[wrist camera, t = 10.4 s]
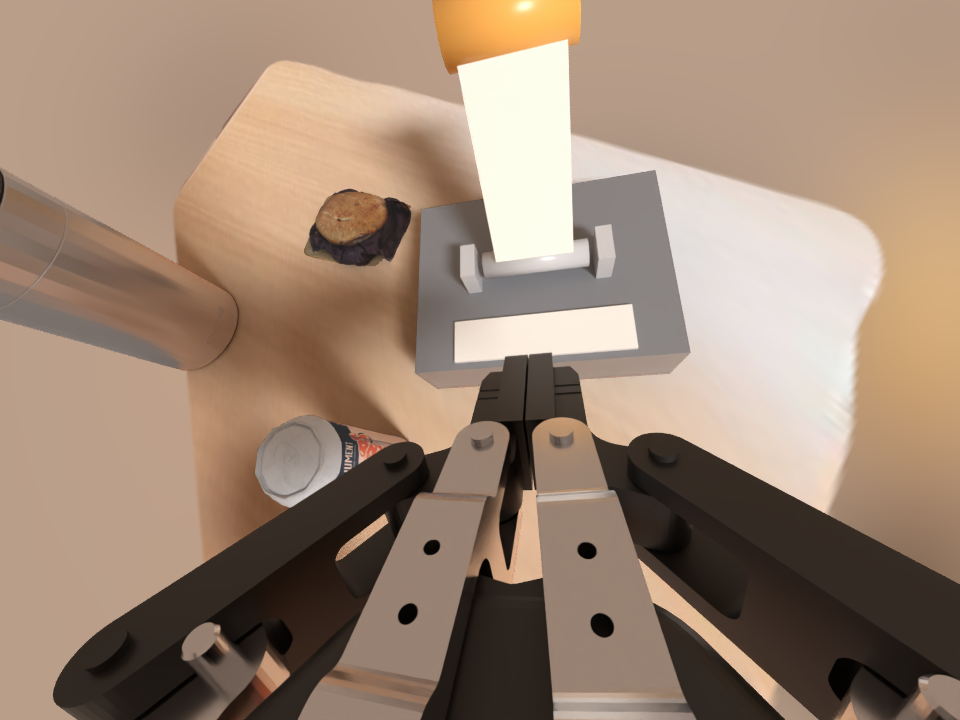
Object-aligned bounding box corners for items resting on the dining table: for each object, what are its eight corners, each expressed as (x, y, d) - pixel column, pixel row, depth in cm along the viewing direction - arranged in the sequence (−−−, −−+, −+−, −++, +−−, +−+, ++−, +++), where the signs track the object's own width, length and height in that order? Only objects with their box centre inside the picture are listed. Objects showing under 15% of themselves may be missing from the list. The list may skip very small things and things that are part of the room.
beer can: (396, 510, 29) (290, 530, 18) (352, 475, 31) (231, 473, 20) (430, 456, 30) (348, 443, 19) (386, 424, 32) (286, 395, 20)
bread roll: (304, 261, 40) (279, 241, 36) (334, 194, 41) (313, 168, 38) (392, 277, 37) (373, 256, 33) (420, 204, 38) (405, 177, 35)
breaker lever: (590, 276, 25) (594, -56, 14) (485, 289, 26) (416, -4, 15) (585, 251, 27) (585, -56, 16) (488, 264, 28) (428, -10, 17)
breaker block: (669, 373, 28) (704, 338, 21) (437, 388, 31) (400, 363, 24) (642, 214, 32) (663, 141, 25) (440, 244, 36) (409, 187, 29)
